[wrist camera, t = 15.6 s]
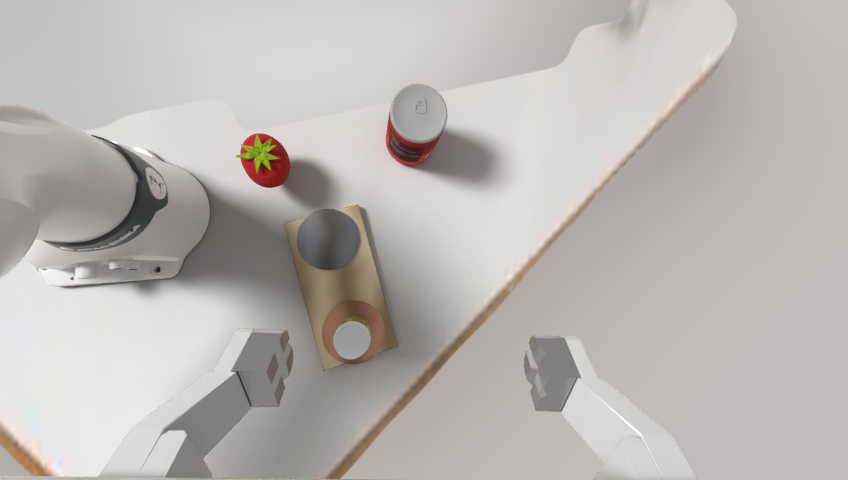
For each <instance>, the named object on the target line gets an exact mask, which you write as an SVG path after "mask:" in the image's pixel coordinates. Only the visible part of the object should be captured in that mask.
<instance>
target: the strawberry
mask: <svg viewBox="0 0 848 480" xmlns="http://www.w3.org/2000/svg"><path fill="white" fill-rule="evenodd" d="M241 146H242V148H241V154H240V155H237V156H236V157H240V158H241V162H242V165H243V167H244V169H245V171H246V173H247V174H248V176H249V177H250V178H251V179H252V180H253V181H254V182H255V183H257V184H258V185H260V186H263V187H267V188H273V187H277V186H280V185H282V184H283V183H284V182H285V181H286V179H287V177H288V175H289V170H290V162H289V157H288V154H287V152H286V150H285V149H284V147H283V146H282V145H281V144H280V143H279V142H278V141H277V140H276V139H274V138H273V137H271V136H269V135H266V134H253V135H251V136H249V137H248V138H247V139H246V140H245V141H244V143H243V145H242V144H241Z"/></svg>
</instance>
